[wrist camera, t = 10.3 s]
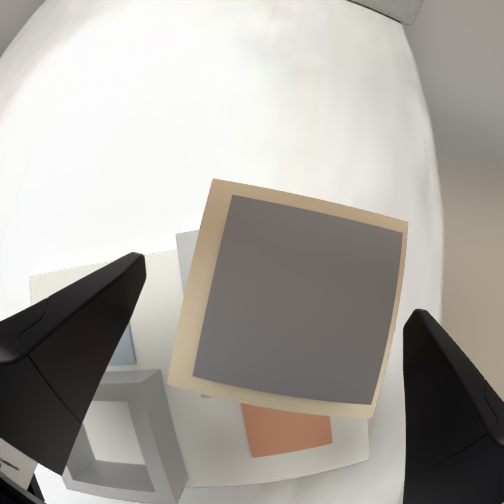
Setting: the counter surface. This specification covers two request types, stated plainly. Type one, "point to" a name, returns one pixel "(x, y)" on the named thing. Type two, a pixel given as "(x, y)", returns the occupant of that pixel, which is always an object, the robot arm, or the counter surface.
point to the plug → (289, 302)
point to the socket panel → (184, 411)
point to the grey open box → (395, 8)
